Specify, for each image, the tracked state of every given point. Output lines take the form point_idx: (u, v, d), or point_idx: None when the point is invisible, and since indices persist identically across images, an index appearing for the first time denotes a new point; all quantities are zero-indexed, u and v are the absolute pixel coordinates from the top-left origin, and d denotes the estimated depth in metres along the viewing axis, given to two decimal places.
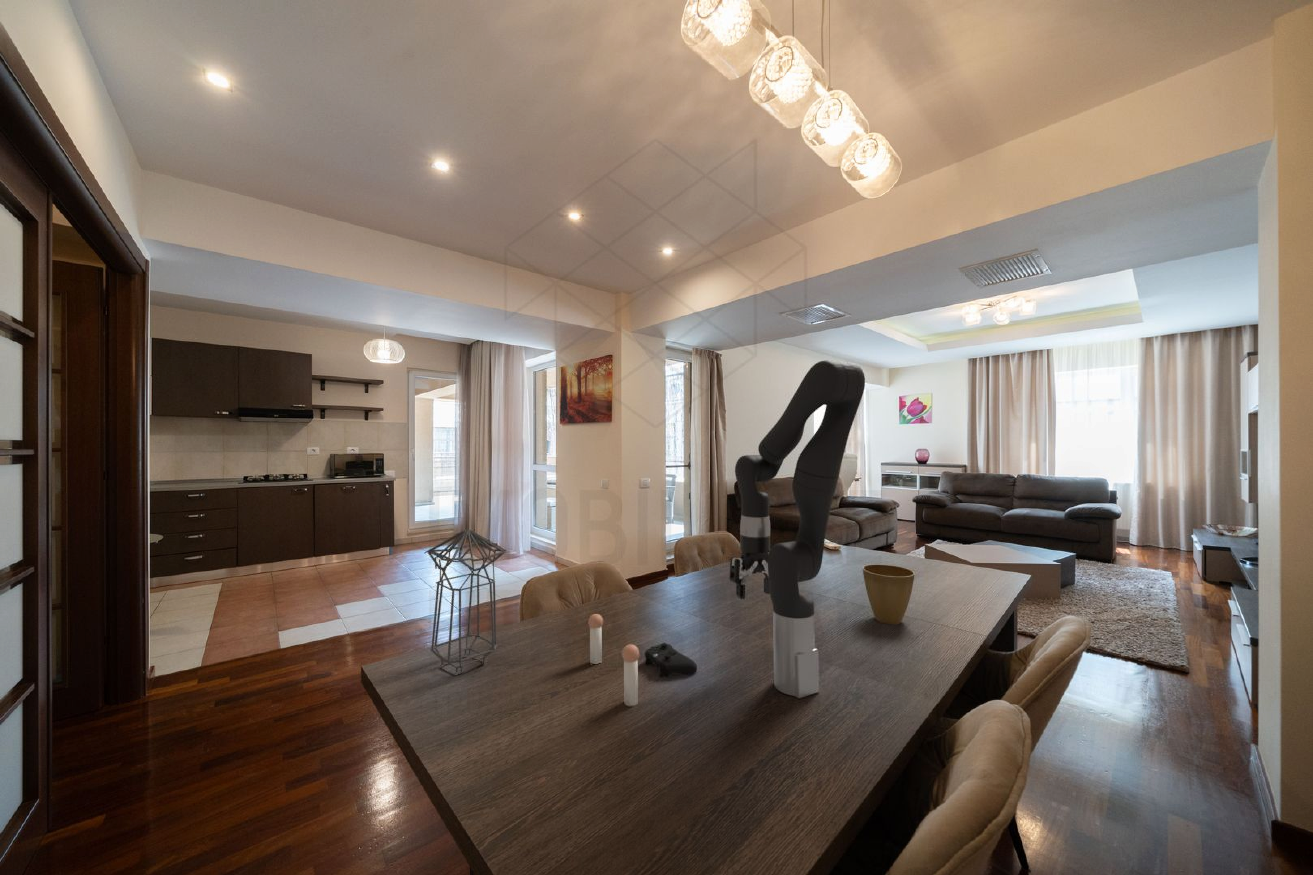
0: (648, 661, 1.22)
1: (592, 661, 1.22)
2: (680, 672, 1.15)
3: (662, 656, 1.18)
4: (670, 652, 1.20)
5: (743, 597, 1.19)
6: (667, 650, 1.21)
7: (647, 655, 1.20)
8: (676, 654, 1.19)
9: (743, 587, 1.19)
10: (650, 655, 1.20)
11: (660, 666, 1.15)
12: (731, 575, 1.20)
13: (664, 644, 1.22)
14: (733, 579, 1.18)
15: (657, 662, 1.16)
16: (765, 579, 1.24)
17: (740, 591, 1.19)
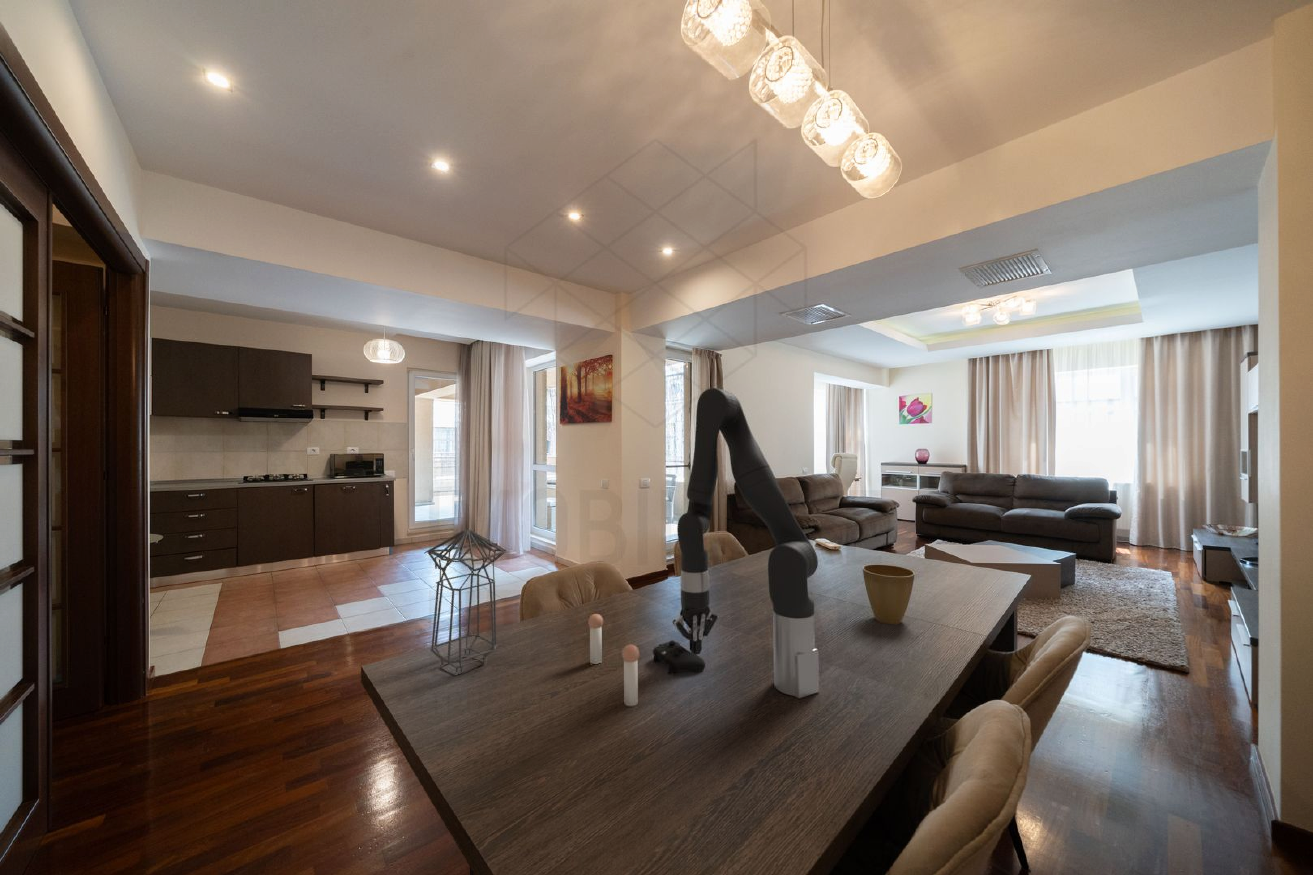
0: (656, 659, 1.23)
1: (592, 661, 1.22)
2: (688, 669, 1.17)
3: (670, 653, 1.19)
4: (678, 649, 1.21)
5: (696, 653, 1.24)
6: (675, 648, 1.22)
7: (655, 653, 1.22)
8: (684, 651, 1.20)
9: (696, 643, 1.24)
10: (658, 653, 1.21)
11: (669, 663, 1.16)
12: (682, 633, 1.24)
13: (672, 642, 1.23)
14: (685, 637, 1.23)
15: (666, 659, 1.17)
16: None
17: (692, 647, 1.24)
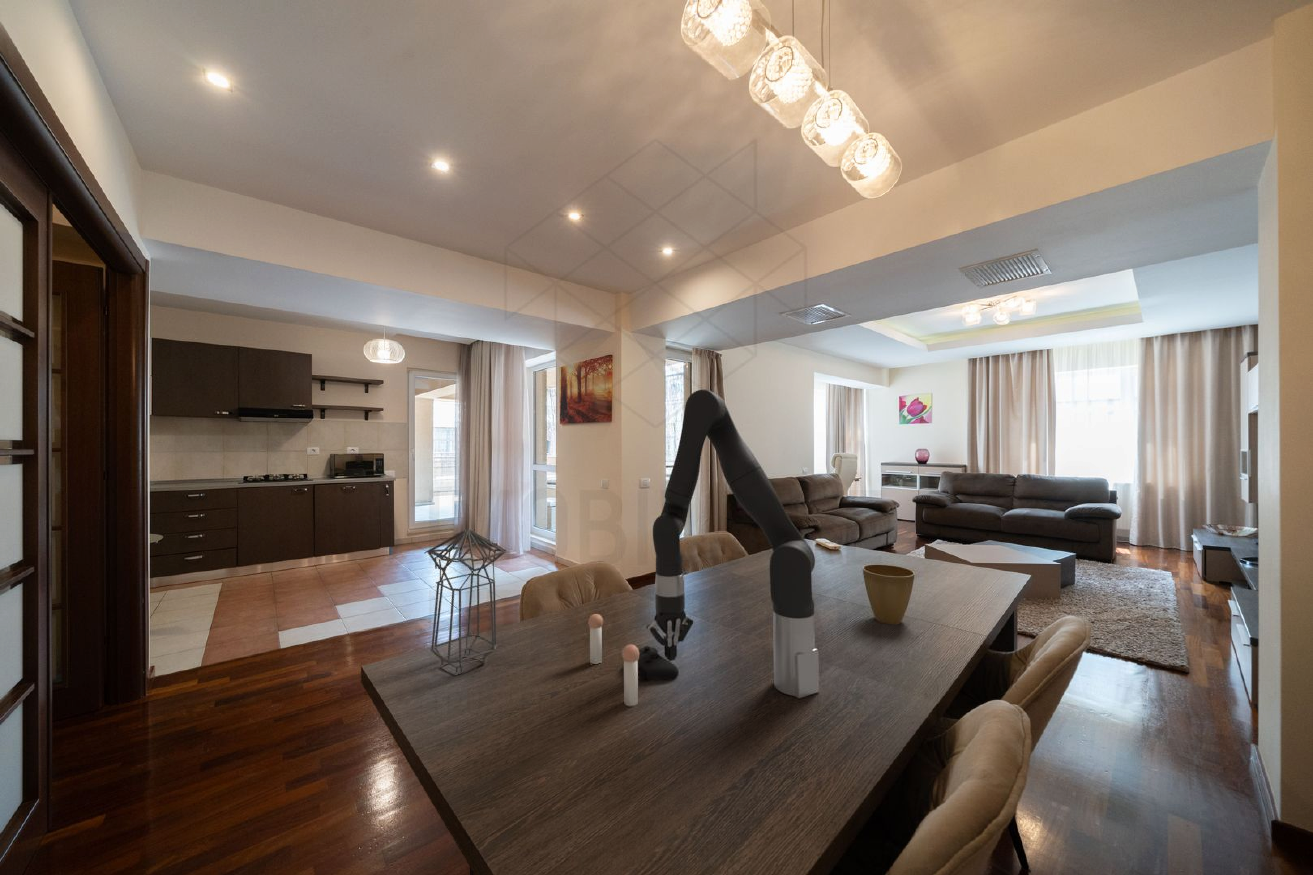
0: None
1: (592, 661, 1.22)
2: (660, 676, 1.13)
3: (643, 660, 1.16)
4: (652, 656, 1.18)
5: (671, 659, 1.20)
6: (649, 653, 1.19)
7: None
8: (658, 658, 1.17)
9: (670, 649, 1.20)
10: None
11: (640, 670, 1.13)
12: (657, 638, 1.21)
13: (647, 647, 1.20)
14: (660, 643, 1.20)
15: None
16: None
17: (667, 653, 1.20)
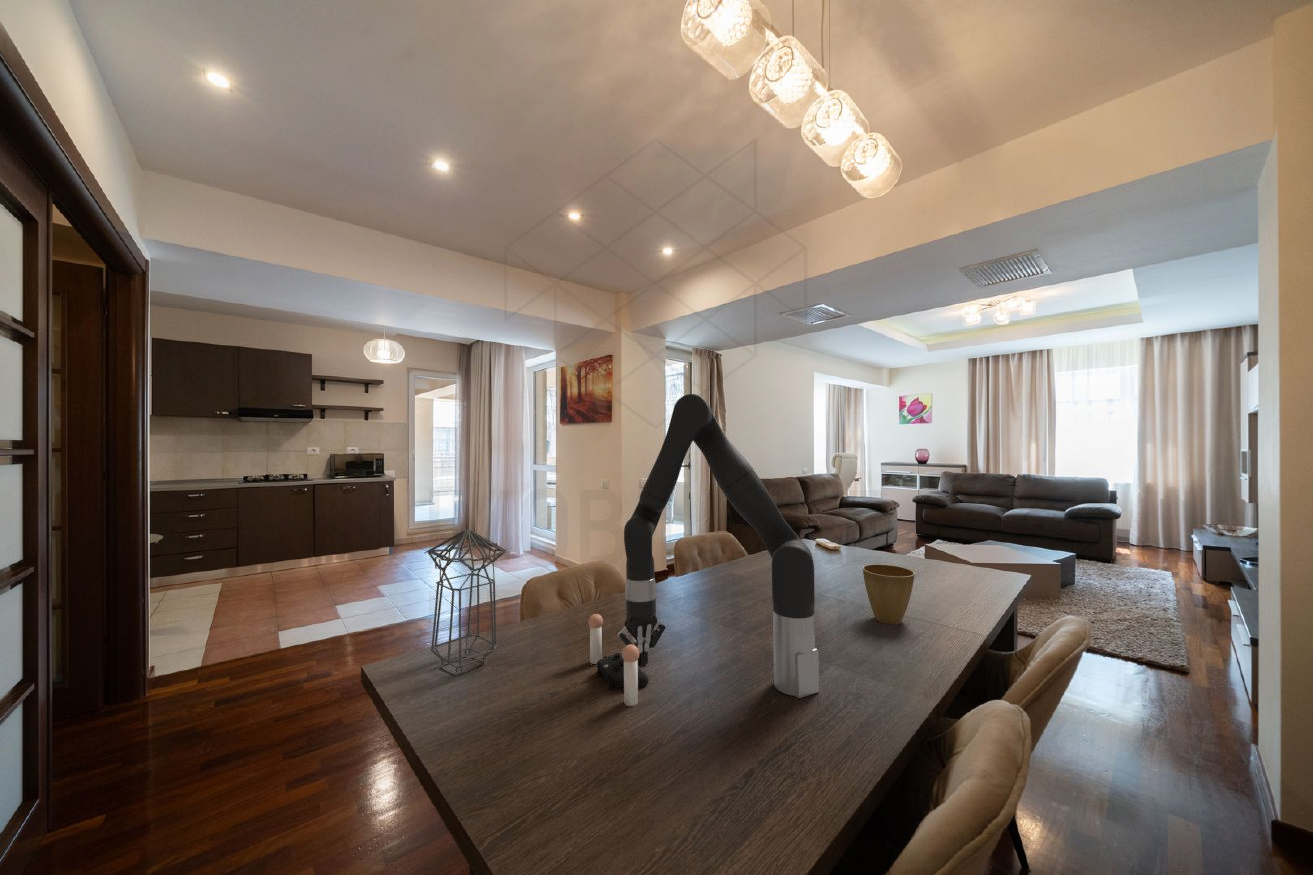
0: (600, 672, 1.16)
1: (592, 661, 1.22)
2: None
3: (612, 667, 1.12)
4: (621, 663, 1.14)
5: (641, 665, 1.16)
6: (619, 661, 1.15)
7: (598, 665, 1.15)
8: None
9: (641, 655, 1.16)
10: (601, 665, 1.14)
11: (608, 678, 1.09)
12: None
13: (617, 654, 1.17)
14: None
15: (605, 673, 1.10)
16: None
17: (638, 660, 1.16)
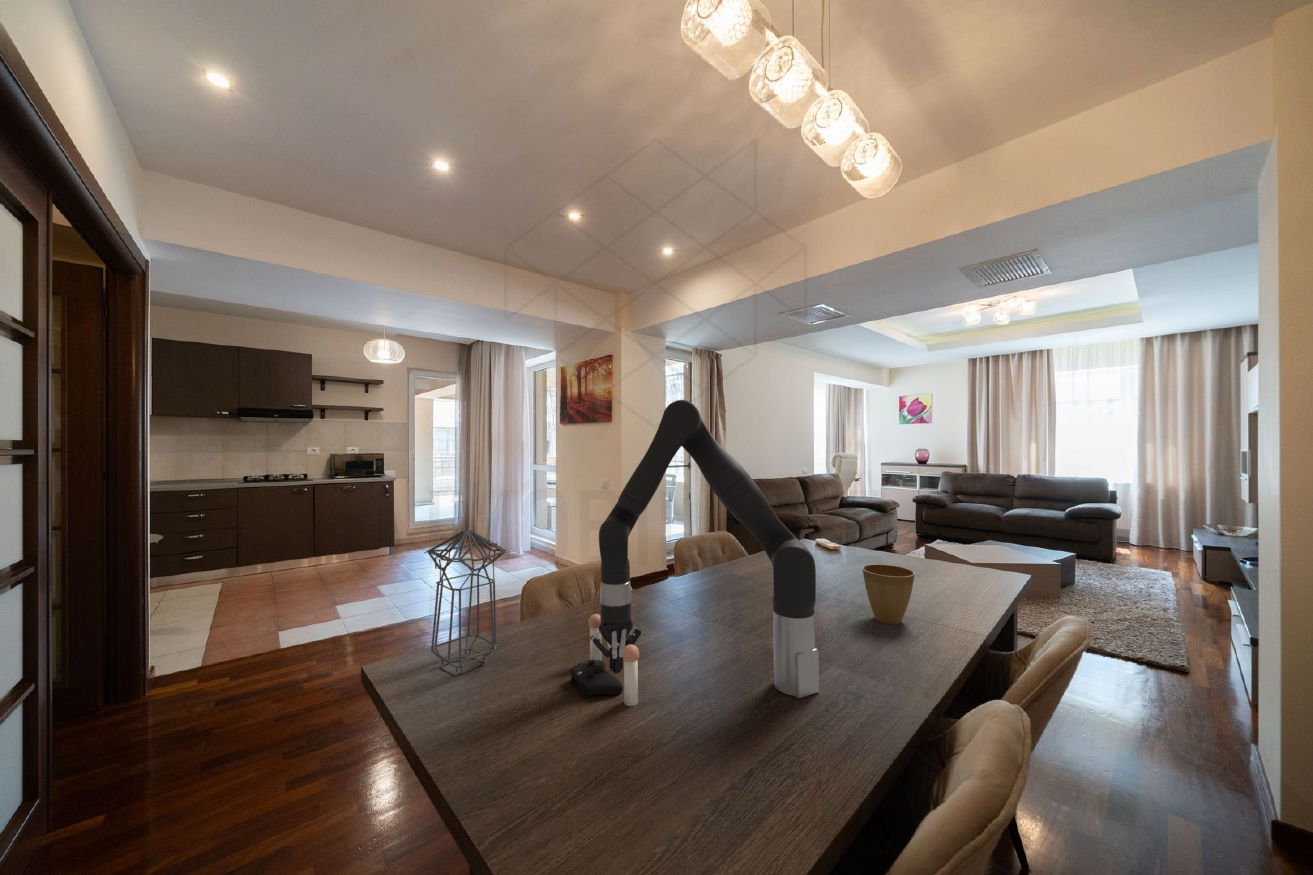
0: (574, 679, 1.13)
1: None
2: (603, 693, 1.06)
3: (586, 674, 1.09)
4: (595, 670, 1.10)
5: (616, 671, 1.13)
6: (593, 668, 1.12)
7: (572, 672, 1.12)
8: (601, 672, 1.09)
9: (616, 661, 1.13)
10: (574, 673, 1.11)
11: (581, 686, 1.06)
12: None
13: (591, 661, 1.13)
14: None
15: (578, 681, 1.07)
16: None
17: (612, 665, 1.13)
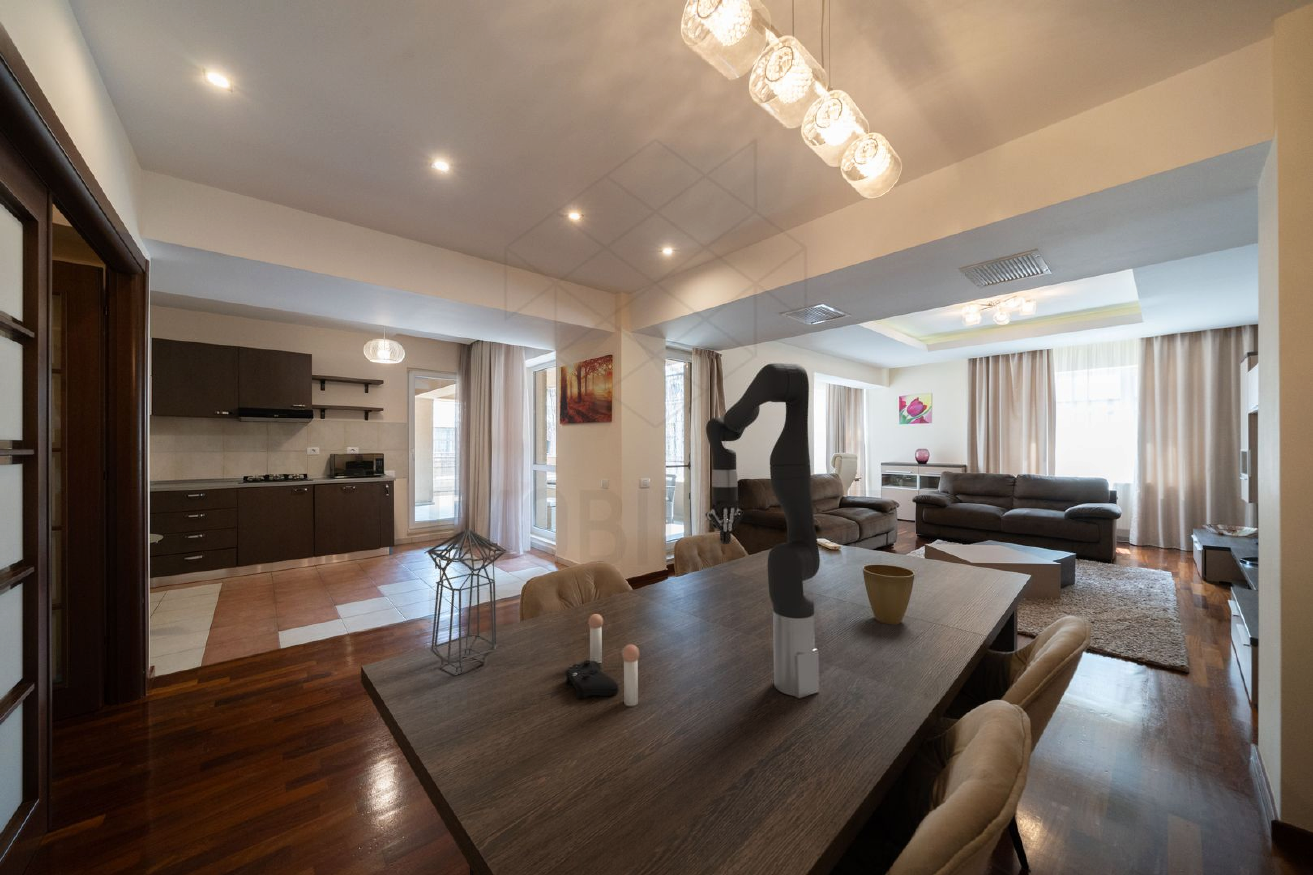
0: (569, 680, 1.12)
1: None
2: (598, 693, 1.06)
3: (581, 675, 1.08)
4: (591, 671, 1.10)
5: (726, 542, 1.39)
6: (589, 668, 1.11)
7: (567, 674, 1.11)
8: (597, 673, 1.09)
9: (726, 533, 1.40)
10: (569, 674, 1.10)
11: (576, 687, 1.05)
12: (714, 525, 1.40)
13: (587, 662, 1.13)
14: (717, 528, 1.39)
15: (574, 682, 1.06)
16: None
17: (723, 537, 1.39)
